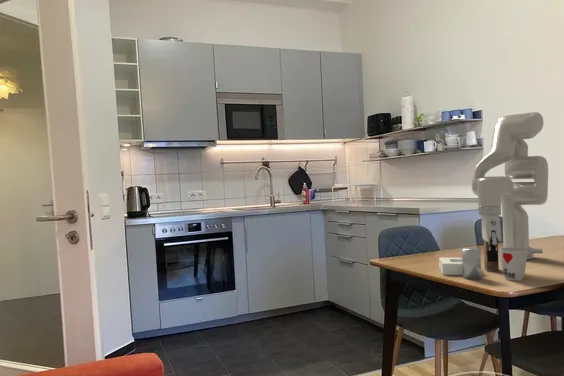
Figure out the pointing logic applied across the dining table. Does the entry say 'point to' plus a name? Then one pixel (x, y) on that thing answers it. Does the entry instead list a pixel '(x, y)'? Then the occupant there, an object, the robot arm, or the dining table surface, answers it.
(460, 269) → the bore block
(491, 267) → the walnut peg
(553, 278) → the dining table surface
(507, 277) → the cup
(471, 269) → the grey cylinder
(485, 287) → the dining table surface
